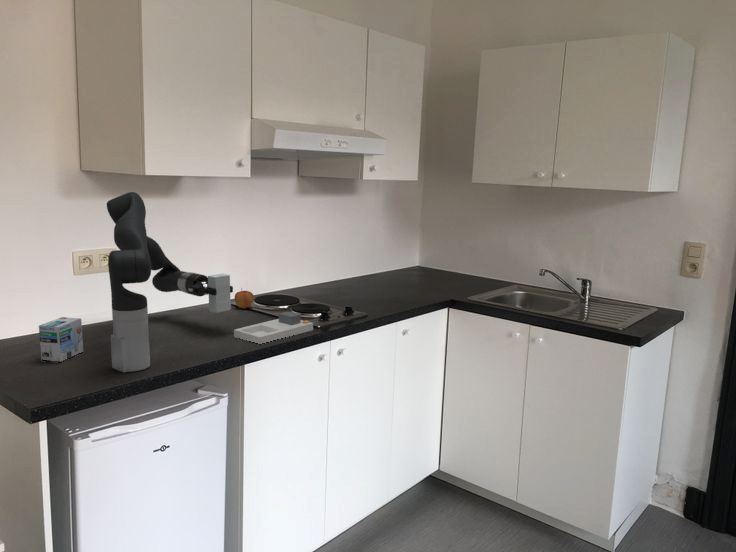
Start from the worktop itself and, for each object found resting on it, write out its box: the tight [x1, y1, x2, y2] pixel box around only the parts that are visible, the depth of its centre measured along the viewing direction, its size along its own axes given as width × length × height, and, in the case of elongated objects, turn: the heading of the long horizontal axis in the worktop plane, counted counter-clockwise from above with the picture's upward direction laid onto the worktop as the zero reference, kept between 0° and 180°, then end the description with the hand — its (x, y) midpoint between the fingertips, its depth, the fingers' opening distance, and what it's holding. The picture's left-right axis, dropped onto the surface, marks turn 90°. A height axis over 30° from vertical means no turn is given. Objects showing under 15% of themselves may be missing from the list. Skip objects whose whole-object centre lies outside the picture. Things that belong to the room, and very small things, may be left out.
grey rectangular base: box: [233, 311, 314, 345], centre depth 211 cm, size 24×13×6 cm, turn 140°
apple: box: [234, 287, 254, 310], centre depth 245 cm, size 7×7×8 cm
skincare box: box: [207, 273, 232, 314], centre depth 206 cm, size 6×4×12 cm
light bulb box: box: [38, 316, 84, 362], centre depth 182 cm, size 11×7×11 cm, turn 170°
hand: (223, 290), depth 204 cm, fingers closed on skincare box, 6 cm apart
